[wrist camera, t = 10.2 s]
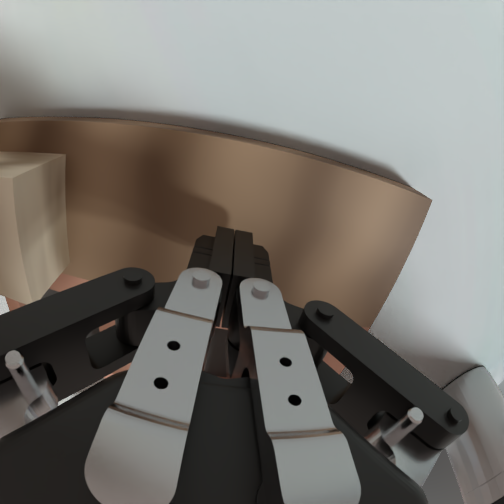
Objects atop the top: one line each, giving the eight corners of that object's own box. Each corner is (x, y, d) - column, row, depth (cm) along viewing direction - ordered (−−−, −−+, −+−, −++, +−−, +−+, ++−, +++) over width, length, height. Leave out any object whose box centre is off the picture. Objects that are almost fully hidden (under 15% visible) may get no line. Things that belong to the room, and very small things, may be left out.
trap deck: (413, 188, 14) (466, 224, 10) (311, 389, 23) (320, 439, 18) (3, 118, 11) (-53, 134, 7) (34, 333, 19) (10, 373, 15)
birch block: (65, 154, 11) (12, 178, 7) (70, 262, 14) (34, 307, 10) (-9, 151, 10) (-58, 172, 7) (0, 244, 13) (-37, 278, 9)
